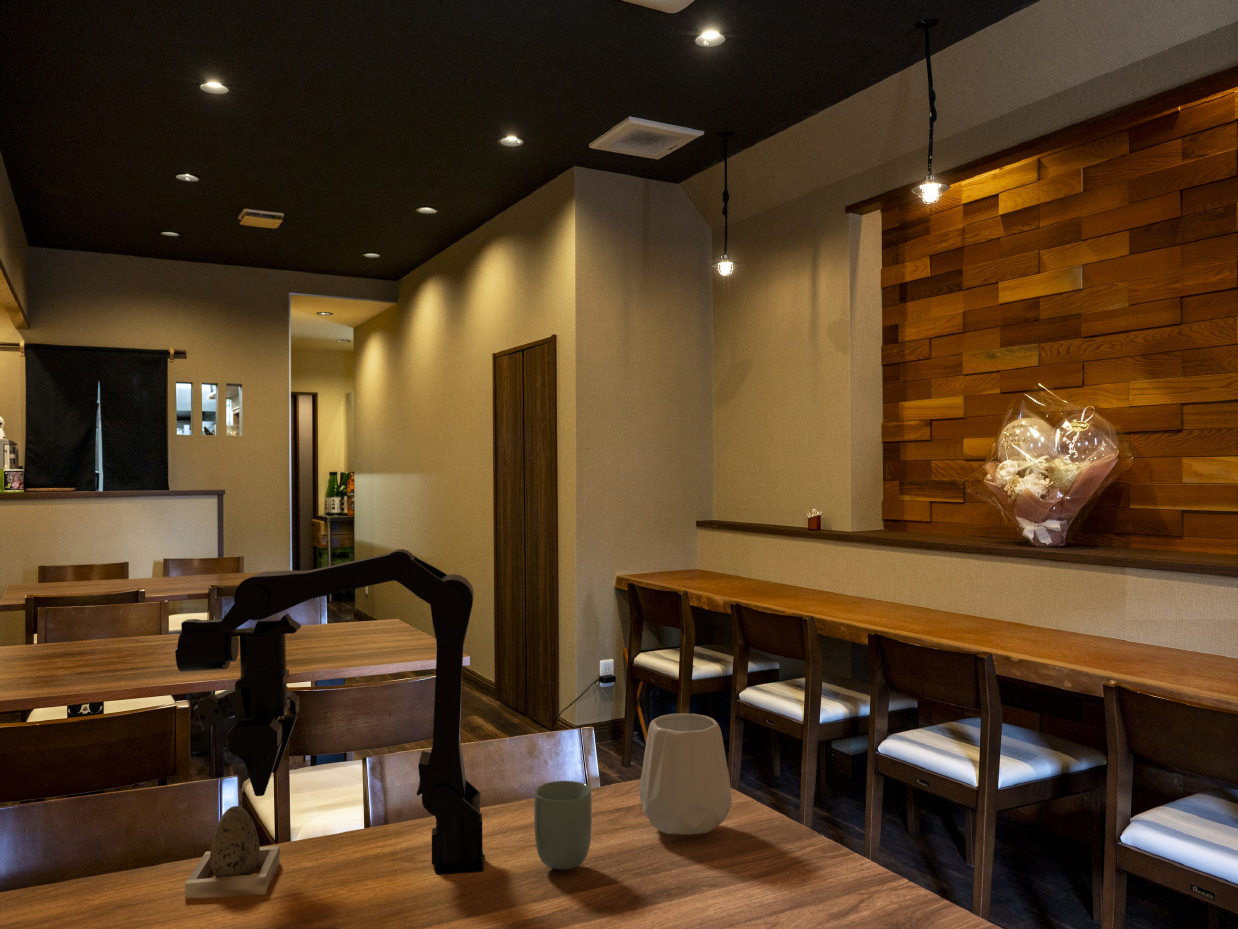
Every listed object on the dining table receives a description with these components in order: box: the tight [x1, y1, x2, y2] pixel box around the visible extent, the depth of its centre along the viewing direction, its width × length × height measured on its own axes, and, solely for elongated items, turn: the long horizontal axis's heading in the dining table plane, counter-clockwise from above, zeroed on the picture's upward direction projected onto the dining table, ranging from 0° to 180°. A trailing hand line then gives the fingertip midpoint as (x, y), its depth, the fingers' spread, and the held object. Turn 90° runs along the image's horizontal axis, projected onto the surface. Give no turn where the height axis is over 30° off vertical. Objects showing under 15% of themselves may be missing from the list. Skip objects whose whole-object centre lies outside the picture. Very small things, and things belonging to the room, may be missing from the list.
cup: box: [533, 780, 593, 871], centre depth 123 cm, size 8×8×10 cm
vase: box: [639, 712, 733, 835], centre depth 137 cm, size 14×14×15 cm
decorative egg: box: [210, 805, 261, 878], centre depth 118 cm, size 6×6×10 cm
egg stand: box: [184, 845, 281, 899], centre depth 118 cm, size 10×10×2 cm
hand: (266, 783), depth 120 cm, fingers open, 9 cm apart
